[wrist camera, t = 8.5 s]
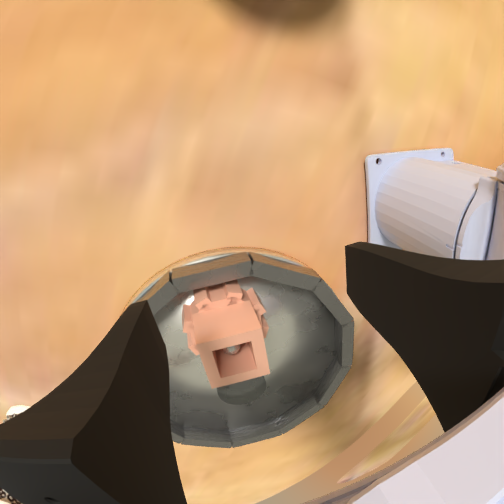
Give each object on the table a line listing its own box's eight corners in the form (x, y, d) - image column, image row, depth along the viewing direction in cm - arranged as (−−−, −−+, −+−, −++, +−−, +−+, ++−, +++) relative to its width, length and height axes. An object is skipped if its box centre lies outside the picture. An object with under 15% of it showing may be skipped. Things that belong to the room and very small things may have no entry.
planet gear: (254, 269, 21) (276, 309, 16) (265, 333, 23) (286, 379, 18) (173, 289, 20) (174, 335, 15) (194, 351, 22) (201, 401, 18)
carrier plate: (337, 220, 22) (376, 245, 18) (338, 394, 30) (360, 429, 25) (76, 282, 19) (55, 323, 15) (161, 440, 27) (164, 481, 22)
